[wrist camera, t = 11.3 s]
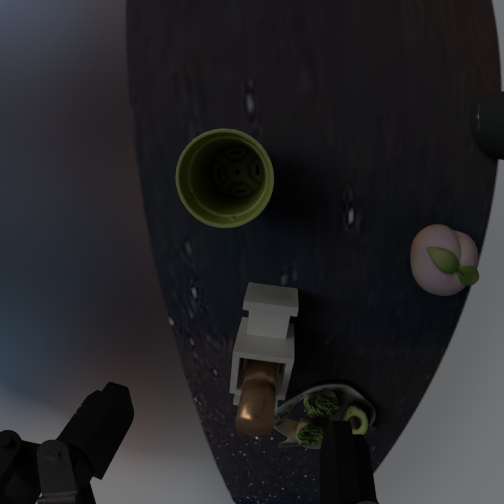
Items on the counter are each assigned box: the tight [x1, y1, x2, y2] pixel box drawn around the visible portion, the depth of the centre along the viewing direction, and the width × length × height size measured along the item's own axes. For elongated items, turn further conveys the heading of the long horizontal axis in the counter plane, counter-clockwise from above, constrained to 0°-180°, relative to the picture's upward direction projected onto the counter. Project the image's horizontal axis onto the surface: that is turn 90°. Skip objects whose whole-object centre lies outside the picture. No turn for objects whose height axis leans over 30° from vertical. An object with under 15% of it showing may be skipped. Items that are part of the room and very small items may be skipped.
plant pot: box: [176, 129, 274, 228], centre depth 32 cm, size 9×9×9 cm
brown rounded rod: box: [235, 359, 278, 436], centre depth 34 cm, size 4×4×12 cm
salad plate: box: [274, 381, 376, 449], centre depth 46 cm, size 19×18×5 cm
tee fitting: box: [230, 282, 299, 410], centre depth 40 cm, size 7×18×8 cm, turn 174°
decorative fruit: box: [410, 224, 479, 296], centre depth 32 cm, size 9×8×10 cm
